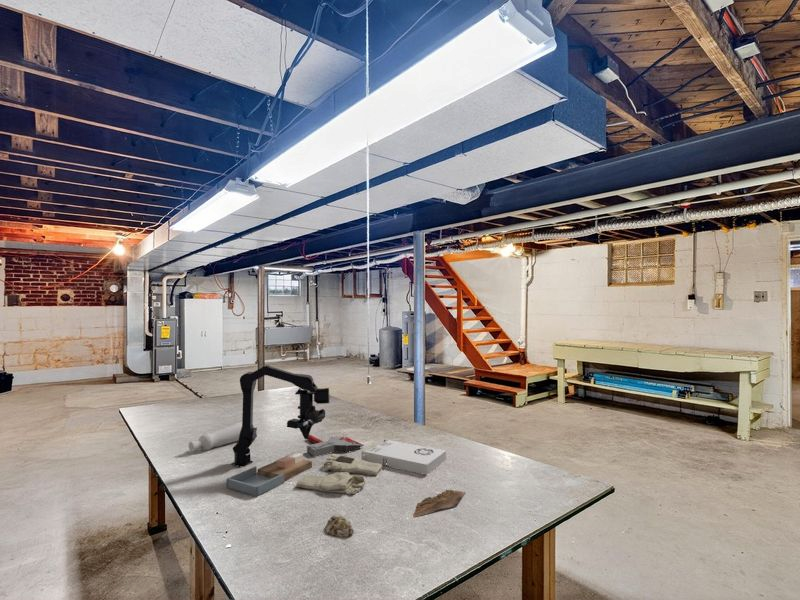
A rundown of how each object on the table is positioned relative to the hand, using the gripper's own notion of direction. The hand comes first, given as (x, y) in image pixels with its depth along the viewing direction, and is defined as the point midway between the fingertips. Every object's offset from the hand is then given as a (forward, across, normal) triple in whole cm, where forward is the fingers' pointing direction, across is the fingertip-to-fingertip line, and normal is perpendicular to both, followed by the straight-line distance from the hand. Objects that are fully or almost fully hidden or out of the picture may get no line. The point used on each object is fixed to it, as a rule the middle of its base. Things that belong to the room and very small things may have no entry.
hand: (306, 439), depth 181 cm
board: (+10, -13, 0) cm, 16 cm away
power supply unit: (+10, +21, -38) cm, 45 cm away
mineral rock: (+10, -39, -48) cm, 63 cm away
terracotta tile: (+7, -13, 0) cm, 15 cm away
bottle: (+10, -3, +53) cm, 54 cm away
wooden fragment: (+10, -10, -68) cm, 69 cm away
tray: (+10, -29, 0) cm, 30 cm away
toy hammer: (+10, +21, +5) cm, 24 cm away
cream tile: (+7, -7, 0) cm, 10 cm away
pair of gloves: (+10, -7, -25) cm, 28 cm away
